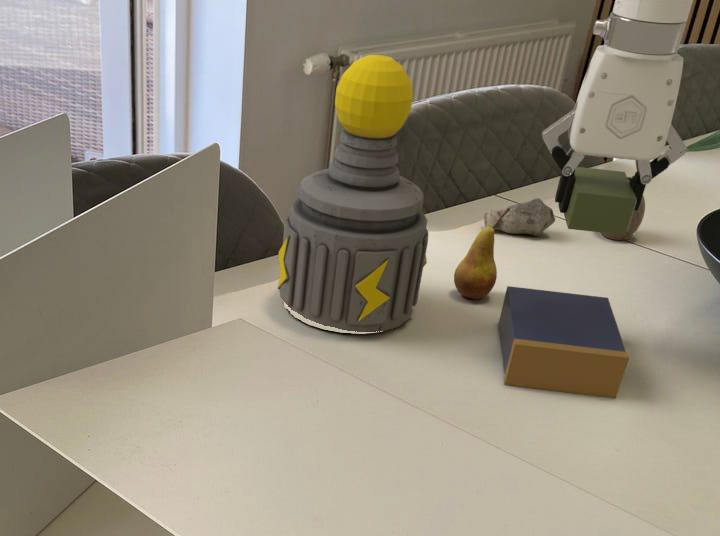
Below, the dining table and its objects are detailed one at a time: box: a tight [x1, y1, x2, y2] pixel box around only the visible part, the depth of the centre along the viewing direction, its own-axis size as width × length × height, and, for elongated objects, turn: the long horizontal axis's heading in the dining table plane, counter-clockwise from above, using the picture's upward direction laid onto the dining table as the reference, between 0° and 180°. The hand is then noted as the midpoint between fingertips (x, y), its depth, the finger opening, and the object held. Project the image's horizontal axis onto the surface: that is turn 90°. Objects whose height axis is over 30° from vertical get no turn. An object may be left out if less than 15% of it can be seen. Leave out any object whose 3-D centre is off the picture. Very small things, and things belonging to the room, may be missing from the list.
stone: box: [483, 197, 556, 237], centre depth 158 cm, size 10×5×8 cm
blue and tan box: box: [498, 285, 630, 399], centre depth 124 cm, size 13×18×5 cm
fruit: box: [453, 208, 510, 300], centre depth 135 cm, size 6×6×12 cm
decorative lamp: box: [277, 54, 429, 332], centre depth 124 cm, size 19×19×30 cm
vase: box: [601, 176, 646, 241], centre depth 158 cm, size 7×7×9 cm
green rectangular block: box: [563, 166, 637, 235], centre depth 115 cm, size 7×10×4 cm, turn 171°
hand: (594, 211), depth 116 cm, fingers closed on green rectangular block, 6 cm apart
